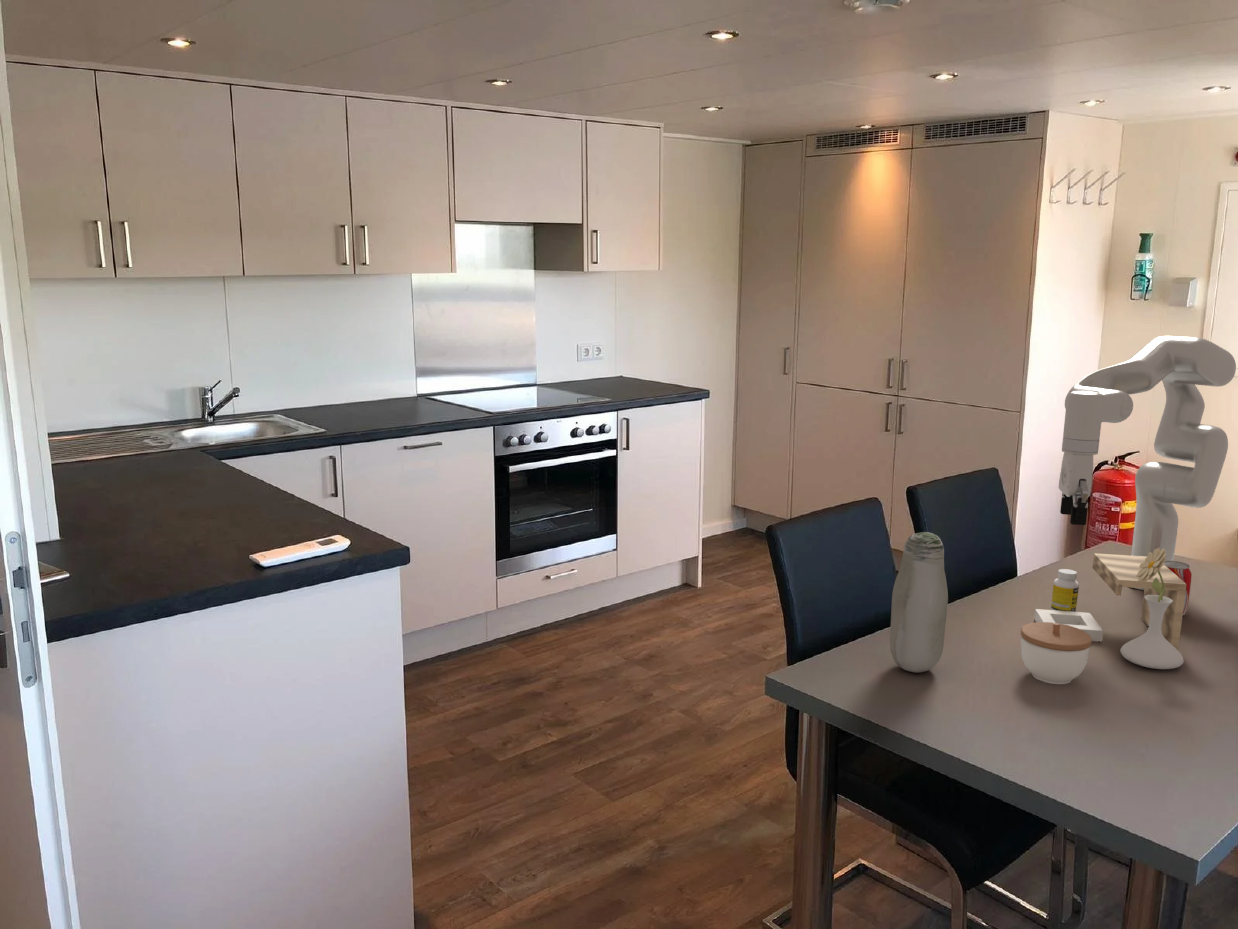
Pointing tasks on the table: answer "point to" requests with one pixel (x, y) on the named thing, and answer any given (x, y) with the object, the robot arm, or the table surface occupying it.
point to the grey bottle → (919, 604)
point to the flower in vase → (1153, 623)
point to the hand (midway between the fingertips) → (1072, 519)
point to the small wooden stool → (1123, 574)
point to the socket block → (1072, 621)
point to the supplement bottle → (1065, 591)
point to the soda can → (1181, 577)
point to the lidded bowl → (1054, 651)
